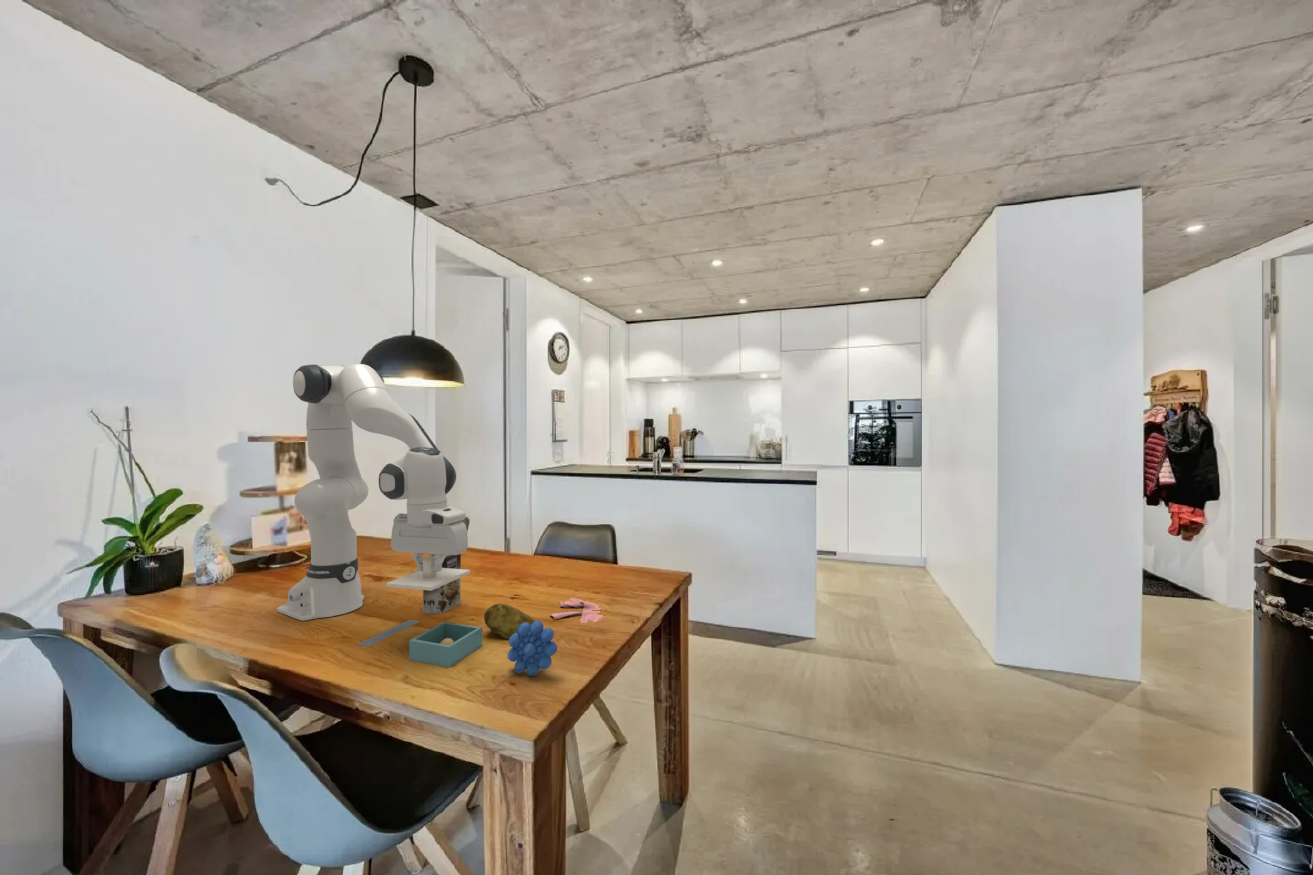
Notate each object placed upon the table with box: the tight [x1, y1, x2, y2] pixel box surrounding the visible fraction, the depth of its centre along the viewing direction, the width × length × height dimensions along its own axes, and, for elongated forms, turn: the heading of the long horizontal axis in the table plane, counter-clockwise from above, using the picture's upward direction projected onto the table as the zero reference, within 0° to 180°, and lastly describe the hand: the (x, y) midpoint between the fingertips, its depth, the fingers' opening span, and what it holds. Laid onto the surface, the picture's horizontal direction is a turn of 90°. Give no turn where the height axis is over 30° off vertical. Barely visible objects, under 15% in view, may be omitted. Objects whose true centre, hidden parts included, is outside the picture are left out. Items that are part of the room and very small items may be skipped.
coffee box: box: [422, 553, 462, 615], centre depth 137 cm, size 9×6×16 cm
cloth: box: [549, 597, 605, 624], centre depth 137 cm, size 20×22×2 cm
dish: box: [408, 621, 483, 668], centre depth 109 cm, size 11×11×5 cm
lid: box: [385, 555, 471, 591], centre depth 113 cm, size 13×13×5 cm
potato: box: [483, 603, 536, 640], centre depth 119 cm, size 8×13×8 cm, turn 68°
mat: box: [356, 619, 421, 648], centre depth 118 cm, size 16×16×1 cm
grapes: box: [507, 619, 558, 677], centre depth 101 cm, size 12×7×12 cm, turn 75°
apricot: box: [440, 638, 454, 645], centre depth 109 cm, size 3×3×3 cm
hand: (429, 570), depth 113 cm, fingers closed on lid, 3 cm apart
